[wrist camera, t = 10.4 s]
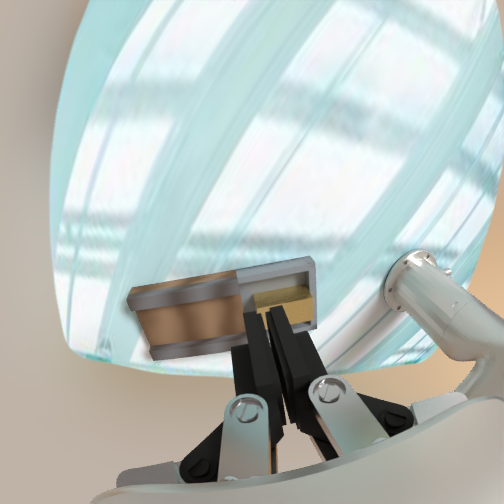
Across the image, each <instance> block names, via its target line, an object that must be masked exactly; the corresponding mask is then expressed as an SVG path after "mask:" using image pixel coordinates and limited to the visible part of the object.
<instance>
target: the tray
mask: <svg viewBox="0 0 504 504" xmlns="http://www.w3.org/2000/svg"><path fill="white" fill-rule="evenodd" d="M236 273H237V279H238V284H239V289H240V294H241V299H242V305H243V310H244V313H246V312H251V311H256V310H255V304H254V297H253V293H259V292H264V291H269V290H274V289H281V288H286V287H291V286H296V285H301V284H305V285H306V286H307V288H308V290H309V291H310V293H311V295H312V297H313V317H314V320H310V321H305V322H301V323H297V324H292V325H291V328H292V330H293V333H298V332H302V331H310V330H314V329H317V301H316V269H315V262H314V261H313V259H312V258H311V257H310V256H306V257H301V258H296V259H291V260H285V261H280V262H275V263H269V264H264V265H258V266H253V267H247V268H242V269H236ZM266 332H267V336H268V339H269V333H268V329H267V330H266Z"/></svg>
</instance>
